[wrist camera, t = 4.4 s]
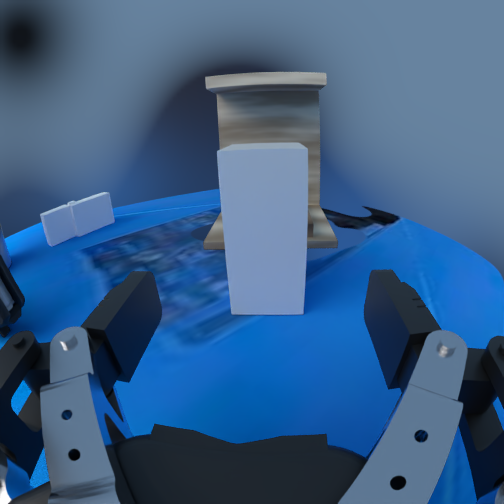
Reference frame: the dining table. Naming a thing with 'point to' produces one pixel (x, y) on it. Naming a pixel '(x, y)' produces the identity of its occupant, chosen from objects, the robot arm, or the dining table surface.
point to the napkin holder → (77, 218)
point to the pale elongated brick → (265, 226)
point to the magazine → (9, 299)
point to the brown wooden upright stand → (274, 131)
